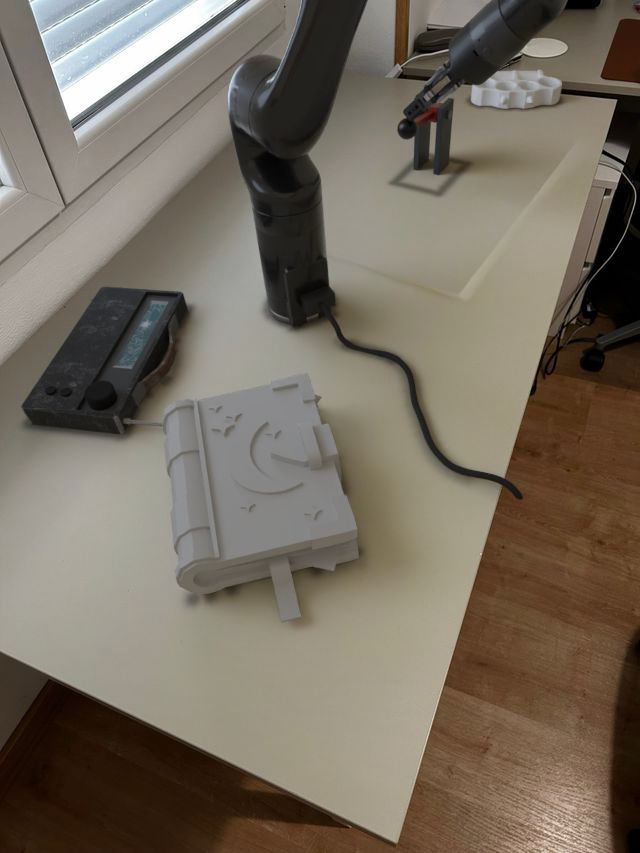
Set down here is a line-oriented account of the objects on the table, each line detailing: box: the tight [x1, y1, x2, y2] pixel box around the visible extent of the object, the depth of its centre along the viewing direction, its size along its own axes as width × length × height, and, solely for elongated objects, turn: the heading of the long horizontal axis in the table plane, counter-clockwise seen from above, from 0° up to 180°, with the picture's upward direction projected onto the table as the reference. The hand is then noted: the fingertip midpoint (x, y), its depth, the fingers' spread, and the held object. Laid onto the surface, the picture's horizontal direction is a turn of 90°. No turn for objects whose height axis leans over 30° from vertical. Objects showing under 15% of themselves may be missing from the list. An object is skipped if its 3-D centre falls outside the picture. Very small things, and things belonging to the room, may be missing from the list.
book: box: [161, 372, 360, 623], centre depth 69 cm, size 19×28×8 cm
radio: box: [20, 286, 189, 435], centre depth 88 cm, size 25×4×20 cm
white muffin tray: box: [470, 69, 563, 110], centre depth 136 cm, size 3×18×15 cm
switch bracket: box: [412, 97, 455, 176], centre depth 114 cm, size 12×9×13 cm
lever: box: [397, 102, 444, 141], centre depth 107 cm, size 13×3×3 cm, turn 147°
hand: (408, 115), depth 102 cm, fingers closed
